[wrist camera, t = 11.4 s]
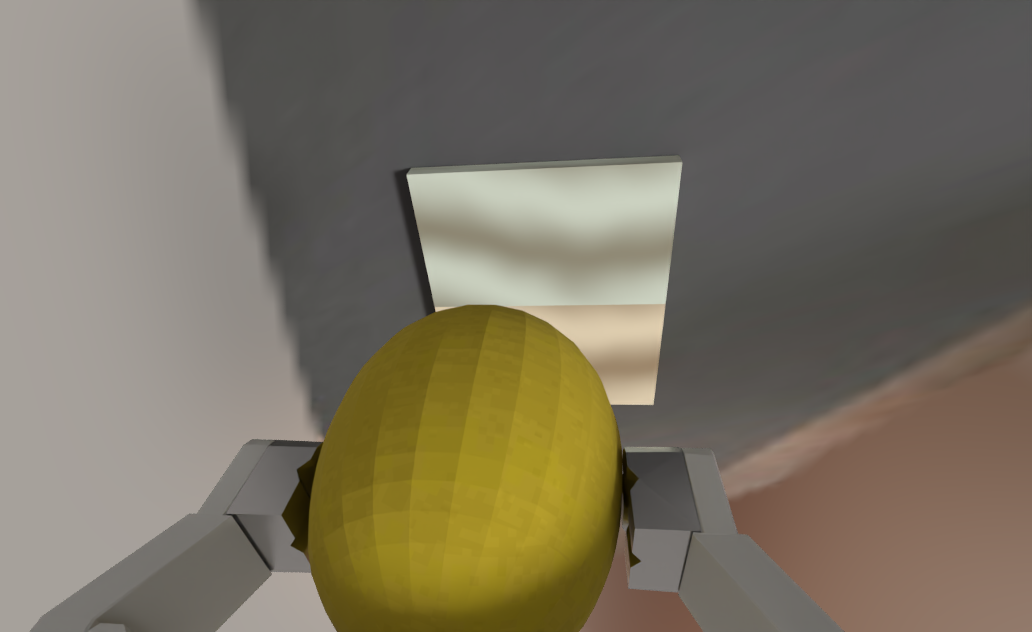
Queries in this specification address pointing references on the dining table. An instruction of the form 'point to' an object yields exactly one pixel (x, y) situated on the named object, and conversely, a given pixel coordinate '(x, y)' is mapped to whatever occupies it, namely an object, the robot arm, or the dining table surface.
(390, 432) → the lemon
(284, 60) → the dining table surface
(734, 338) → the dining table surface
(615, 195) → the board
